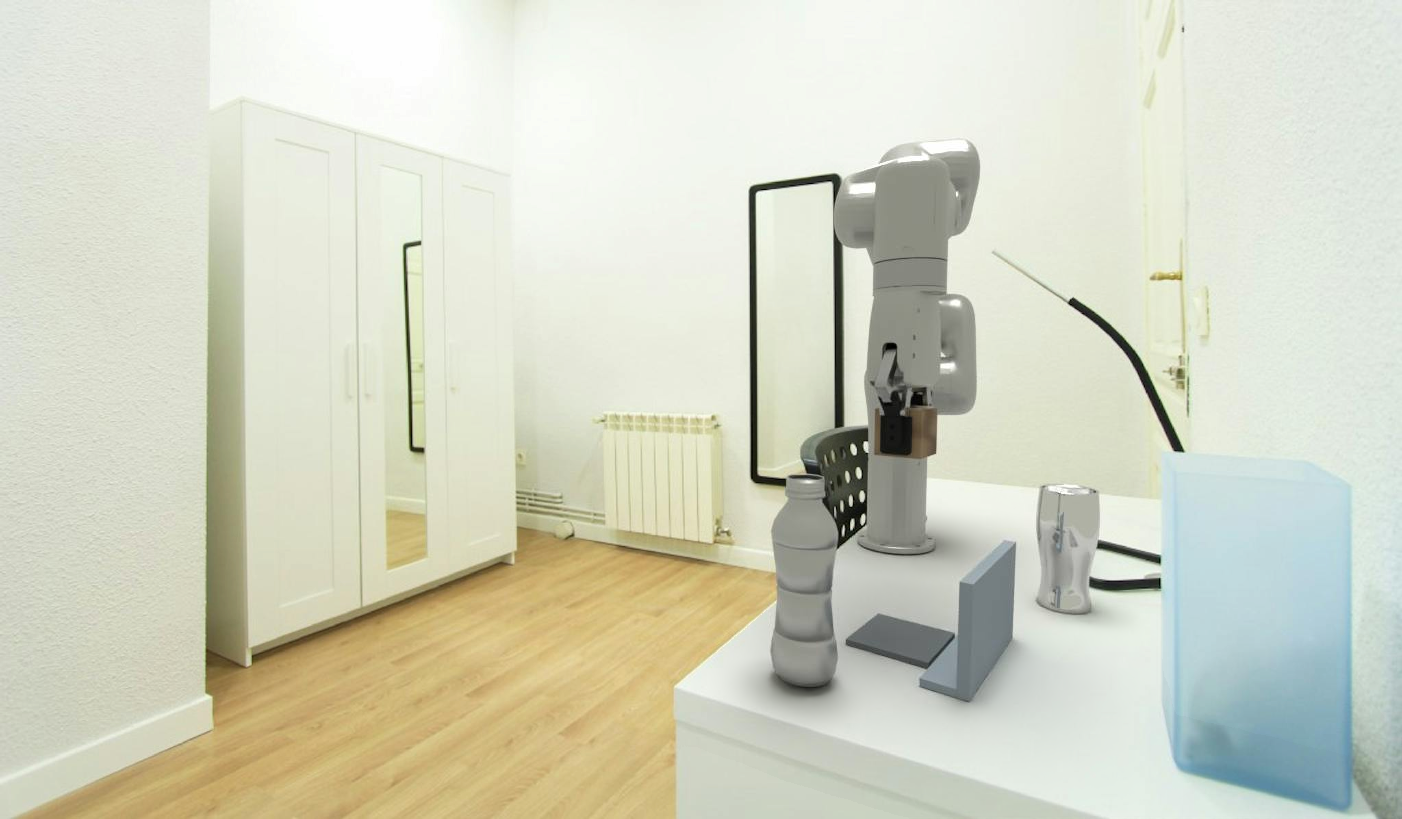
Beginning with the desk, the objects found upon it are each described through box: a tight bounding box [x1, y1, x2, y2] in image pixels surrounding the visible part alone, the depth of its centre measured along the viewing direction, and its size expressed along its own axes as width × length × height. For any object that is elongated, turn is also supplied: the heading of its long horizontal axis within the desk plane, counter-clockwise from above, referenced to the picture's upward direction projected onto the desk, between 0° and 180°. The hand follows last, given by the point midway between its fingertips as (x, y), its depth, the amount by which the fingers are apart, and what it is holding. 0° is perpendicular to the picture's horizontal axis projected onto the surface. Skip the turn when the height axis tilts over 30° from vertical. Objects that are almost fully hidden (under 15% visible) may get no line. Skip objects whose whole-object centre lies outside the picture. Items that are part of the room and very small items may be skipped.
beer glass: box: [1035, 483, 1101, 615], centre depth 81 cm, size 7×7×15 cm
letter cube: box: [874, 405, 938, 459], centre depth 69 cm, size 5×5×5 cm
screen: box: [918, 540, 1017, 703], centre depth 66 cm, size 17×5×11 cm, turn 142°
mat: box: [845, 613, 956, 669], centre depth 71 cm, size 9×9×1 cm
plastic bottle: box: [769, 473, 839, 688], centre depth 62 cm, size 6×7×20 cm
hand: (905, 449), depth 69 cm, fingers closed on letter cube, 5 cm apart
